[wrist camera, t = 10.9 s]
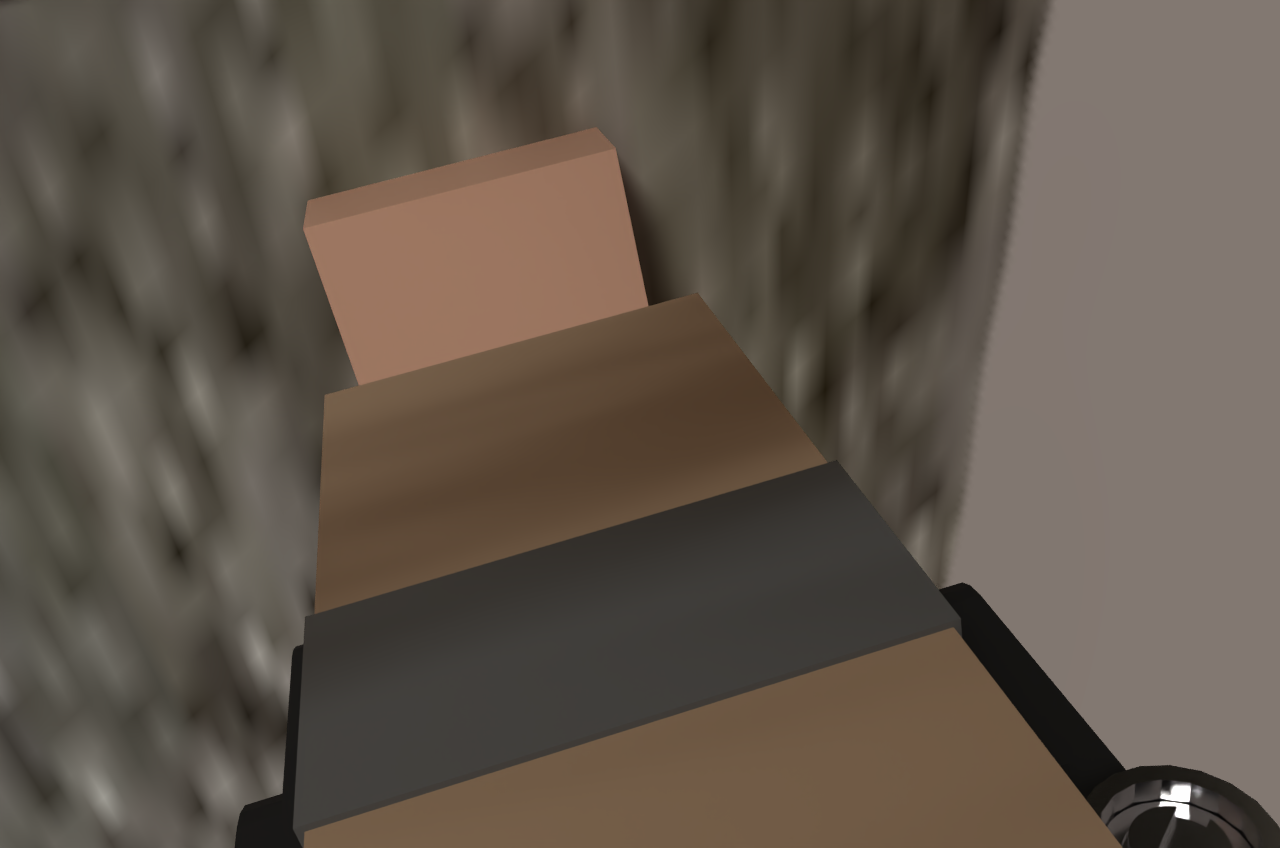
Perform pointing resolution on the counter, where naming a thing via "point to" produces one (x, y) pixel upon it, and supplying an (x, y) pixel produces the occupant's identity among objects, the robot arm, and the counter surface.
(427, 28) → the counter surface
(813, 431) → the counter surface
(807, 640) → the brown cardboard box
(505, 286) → the tile
